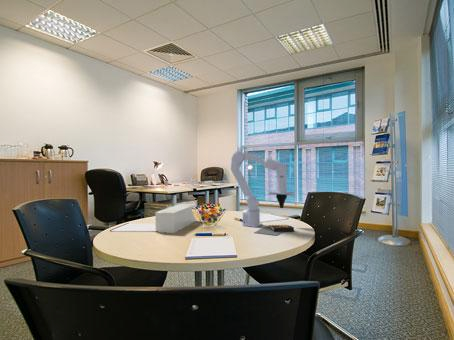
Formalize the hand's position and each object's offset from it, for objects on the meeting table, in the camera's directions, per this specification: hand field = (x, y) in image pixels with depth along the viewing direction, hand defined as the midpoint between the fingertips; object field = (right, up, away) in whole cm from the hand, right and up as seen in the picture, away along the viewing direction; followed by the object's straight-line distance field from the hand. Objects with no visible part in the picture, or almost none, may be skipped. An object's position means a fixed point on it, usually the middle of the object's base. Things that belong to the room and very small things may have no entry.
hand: (281, 207), depth 148 cm
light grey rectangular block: (-60, -12, +3) cm, 61 cm away
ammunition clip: (-2, -9, -14) cm, 17 cm away
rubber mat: (-8, -11, -11) cm, 18 cm away
